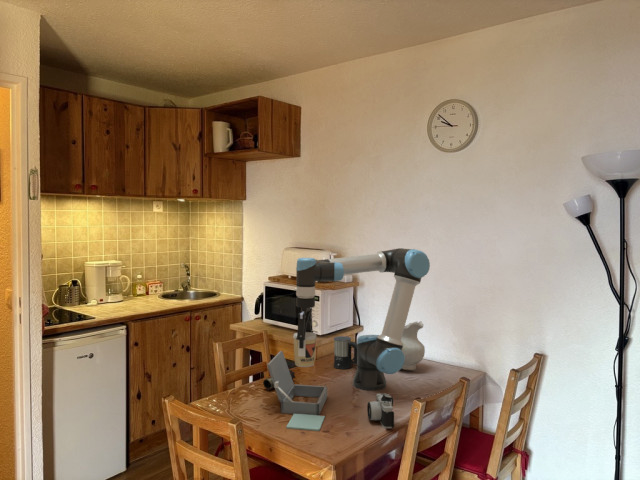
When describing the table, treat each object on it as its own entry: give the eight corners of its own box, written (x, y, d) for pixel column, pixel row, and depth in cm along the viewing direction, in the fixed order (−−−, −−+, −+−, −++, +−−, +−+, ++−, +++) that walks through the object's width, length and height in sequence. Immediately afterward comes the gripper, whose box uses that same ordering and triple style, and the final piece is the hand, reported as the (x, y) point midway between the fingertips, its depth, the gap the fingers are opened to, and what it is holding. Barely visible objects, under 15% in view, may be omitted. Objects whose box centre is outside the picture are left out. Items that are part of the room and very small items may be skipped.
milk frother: (331, 368, 240) (331, 339, 239) (337, 359, 255) (338, 332, 255) (359, 370, 237) (359, 341, 236) (363, 361, 252) (364, 334, 251)
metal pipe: (271, 390, 205) (271, 377, 205) (259, 387, 210) (259, 374, 209) (297, 381, 220) (297, 368, 220) (286, 378, 224) (286, 366, 224)
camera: (364, 412, 184) (364, 387, 184) (387, 411, 185) (387, 386, 185) (372, 429, 169) (372, 402, 169) (396, 429, 170) (397, 401, 169)
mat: (324, 417, 179) (324, 415, 179) (319, 431, 167) (319, 429, 167) (293, 415, 181) (293, 413, 181) (286, 428, 169) (286, 426, 169)
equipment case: (327, 397, 200) (327, 353, 200) (318, 416, 180) (319, 367, 179) (279, 393, 204) (280, 350, 203) (266, 412, 184) (266, 364, 183)
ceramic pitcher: (377, 369, 238) (377, 320, 237) (387, 359, 256) (387, 314, 255) (420, 375, 230) (421, 324, 229) (427, 364, 248) (428, 317, 247)
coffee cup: (298, 368, 183) (298, 338, 182) (289, 362, 191) (289, 332, 191) (320, 366, 187) (320, 335, 186) (310, 359, 195) (310, 330, 195)
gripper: (302, 292, 199) (302, 345, 200) (289, 300, 178) (288, 359, 179) (320, 293, 198) (319, 346, 199) (308, 301, 176) (307, 361, 177)
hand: (304, 352), depth 189 cm, fingers closed on coffee cup, 9 cm apart
